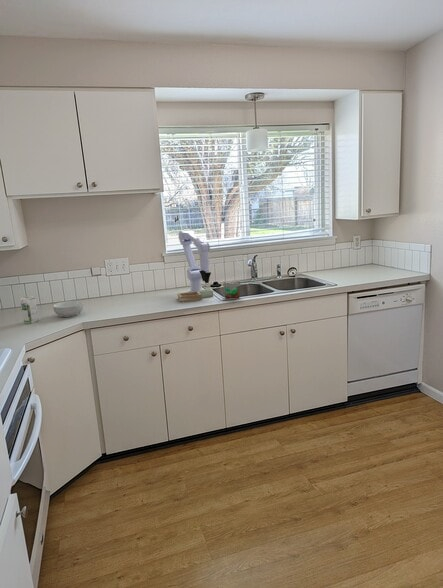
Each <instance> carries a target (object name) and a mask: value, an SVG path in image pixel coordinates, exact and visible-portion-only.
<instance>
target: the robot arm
mask: <svg viewBox="0 0 443 588" xmlns="http://www.w3.org/2000/svg"><path fill="white" fill-rule="evenodd" d="M178 240H179V243H180V245H181V246H182V248H183V250H184V254H185V257H186V261H187V263H188V269H187V270H186V275H187V279H188V280H189V281H190V282H189V283H190V290H189V292H197V291H198V292H199V293H200V290H202V282H204V283H205V284H209V282H210V276H211V275H212V272H210V259H209V258H210V257H209V251H210V250H211V249H210V247H211V246H210V244H209V242H204V241H203V240H202V239H201V237H197V236H196V235H195V231H194V230H192V229H191V230H180V231H179V232H178ZM191 244H193V245H194V246H195V247H196V248H197V252H198V255H199V265H200V266H198V265H197V263H196V260H195V256H194V253H193V250H192V247H191Z"/></svg>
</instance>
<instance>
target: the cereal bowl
mask: <svg viewBox="0 0 443 588" xmlns="http://www.w3.org/2000/svg"><path fill="white" fill-rule="evenodd" d="M84 305H85V304H84V302H83V301H81V300H68V301H62V302H57V303H55V304H53V306H52V309H53V311H54V313H55V314H56V315H58V316H62V317H63V318H71V317H74V316H77V315H78V314H79V313H82V311H83V310H84V307H85V306H84Z"/></svg>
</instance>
